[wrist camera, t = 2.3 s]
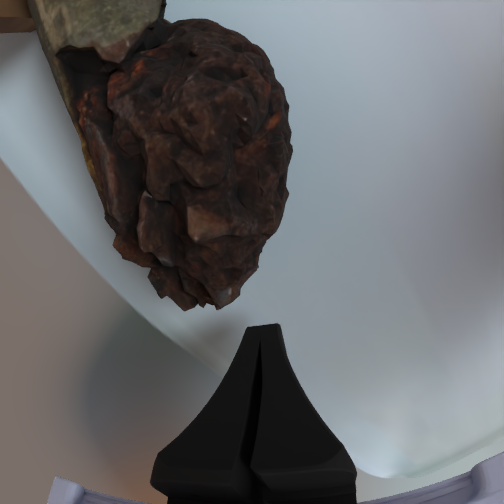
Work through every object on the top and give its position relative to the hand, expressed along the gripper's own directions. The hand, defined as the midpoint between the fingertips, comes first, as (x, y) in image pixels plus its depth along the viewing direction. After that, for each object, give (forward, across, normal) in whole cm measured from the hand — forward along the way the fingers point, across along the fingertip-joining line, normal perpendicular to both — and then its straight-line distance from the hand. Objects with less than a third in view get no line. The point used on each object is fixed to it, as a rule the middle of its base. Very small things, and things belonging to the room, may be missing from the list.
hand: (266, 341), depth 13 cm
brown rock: (+3, +2, -12) cm, 12 cm away
